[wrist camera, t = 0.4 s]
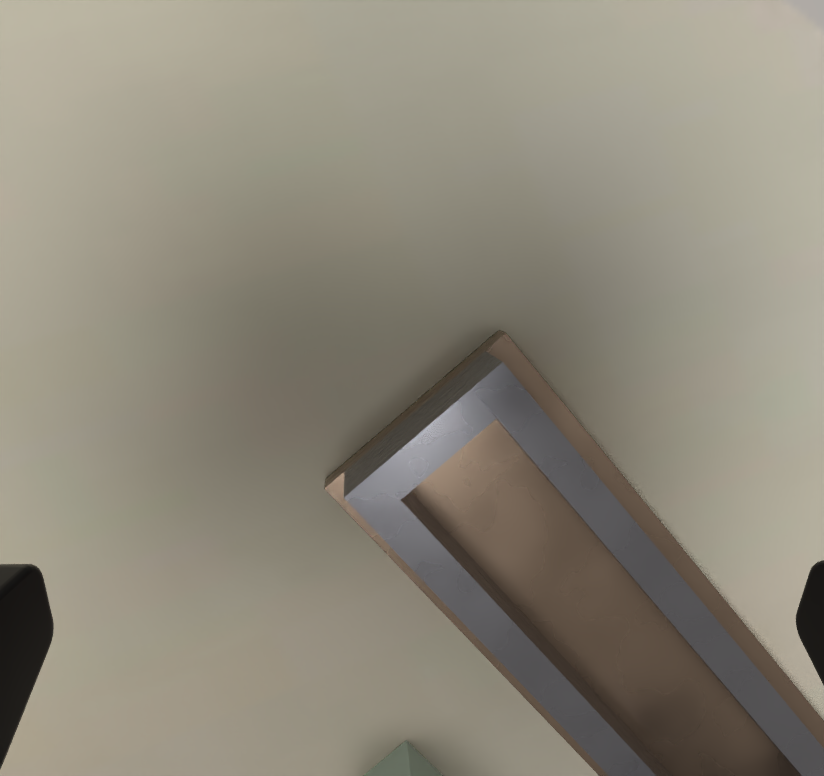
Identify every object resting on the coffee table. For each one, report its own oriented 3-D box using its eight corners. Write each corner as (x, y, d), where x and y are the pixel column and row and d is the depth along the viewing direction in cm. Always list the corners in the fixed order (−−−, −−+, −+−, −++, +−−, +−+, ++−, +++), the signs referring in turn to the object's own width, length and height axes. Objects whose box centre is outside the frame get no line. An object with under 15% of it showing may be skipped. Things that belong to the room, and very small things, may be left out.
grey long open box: (703, 875, 27) (753, 961, 24) (325, 478, 23) (321, 517, 19) (851, 759, 27) (923, 830, 24) (499, 330, 22) (526, 341, 19)
